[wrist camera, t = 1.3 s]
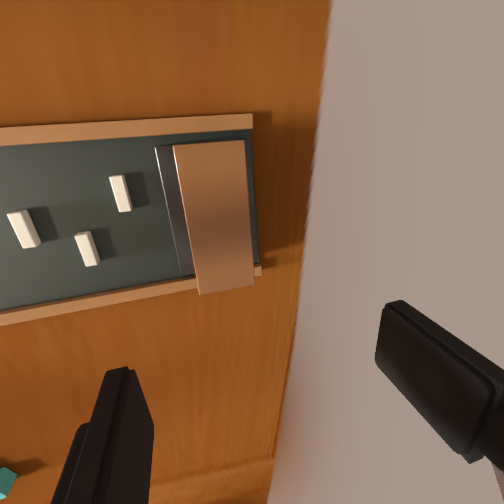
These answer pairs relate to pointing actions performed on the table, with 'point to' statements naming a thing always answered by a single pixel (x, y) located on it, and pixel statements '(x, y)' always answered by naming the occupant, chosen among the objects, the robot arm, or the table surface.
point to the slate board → (94, 212)
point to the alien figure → (6, 481)
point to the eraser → (211, 211)
